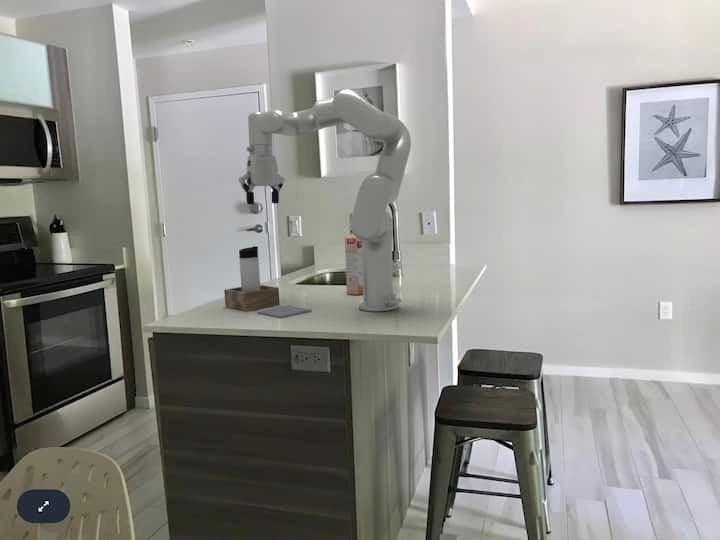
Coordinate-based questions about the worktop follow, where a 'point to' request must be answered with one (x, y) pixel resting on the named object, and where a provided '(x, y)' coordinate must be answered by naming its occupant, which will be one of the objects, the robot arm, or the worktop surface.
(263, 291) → the crate
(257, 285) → the travel mug
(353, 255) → the cracker box
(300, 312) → the mat
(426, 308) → the worktop surface
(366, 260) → the robot arm
